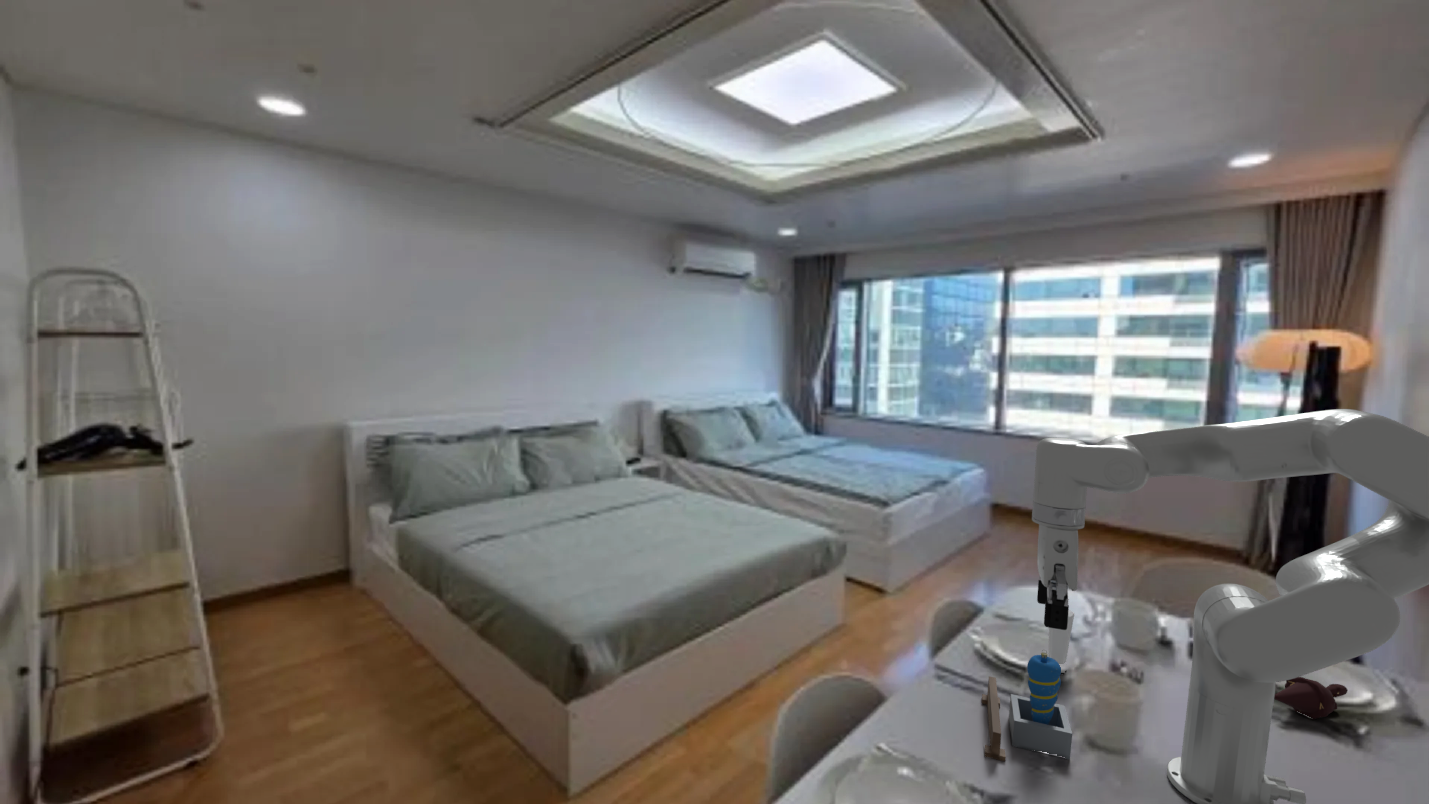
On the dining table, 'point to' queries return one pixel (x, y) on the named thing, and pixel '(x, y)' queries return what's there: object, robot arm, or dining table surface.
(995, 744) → the rail
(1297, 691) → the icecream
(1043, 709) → the ornament
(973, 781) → the dining table surface
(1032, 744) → the holder
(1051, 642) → the perfume bottle
